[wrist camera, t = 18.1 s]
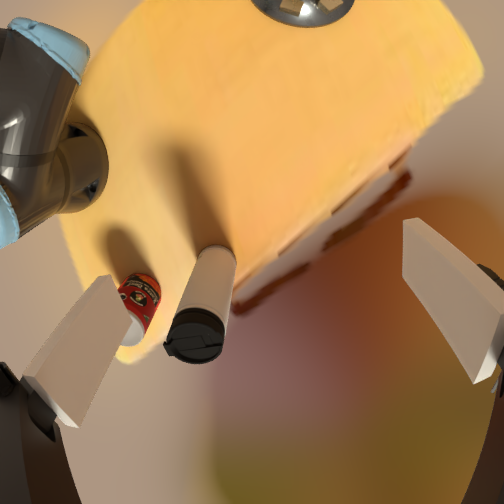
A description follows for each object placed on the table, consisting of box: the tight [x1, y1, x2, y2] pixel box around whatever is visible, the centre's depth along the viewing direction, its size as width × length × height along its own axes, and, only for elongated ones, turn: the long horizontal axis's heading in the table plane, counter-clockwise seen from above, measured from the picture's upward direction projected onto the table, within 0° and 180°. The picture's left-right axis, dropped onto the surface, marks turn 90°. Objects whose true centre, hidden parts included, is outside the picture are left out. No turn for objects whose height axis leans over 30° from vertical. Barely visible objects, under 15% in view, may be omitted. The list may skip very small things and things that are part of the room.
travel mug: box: [163, 245, 236, 364], centre depth 39 cm, size 6×7×20 cm
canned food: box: [118, 274, 161, 346], centre depth 46 cm, size 8×8×11 cm
